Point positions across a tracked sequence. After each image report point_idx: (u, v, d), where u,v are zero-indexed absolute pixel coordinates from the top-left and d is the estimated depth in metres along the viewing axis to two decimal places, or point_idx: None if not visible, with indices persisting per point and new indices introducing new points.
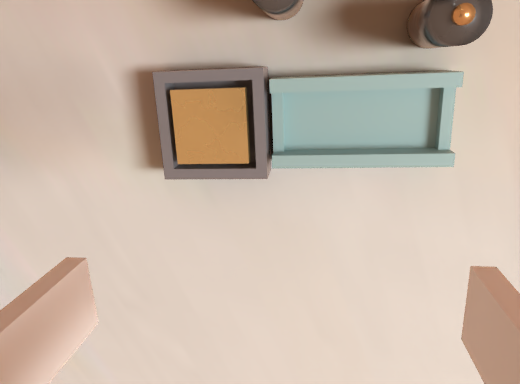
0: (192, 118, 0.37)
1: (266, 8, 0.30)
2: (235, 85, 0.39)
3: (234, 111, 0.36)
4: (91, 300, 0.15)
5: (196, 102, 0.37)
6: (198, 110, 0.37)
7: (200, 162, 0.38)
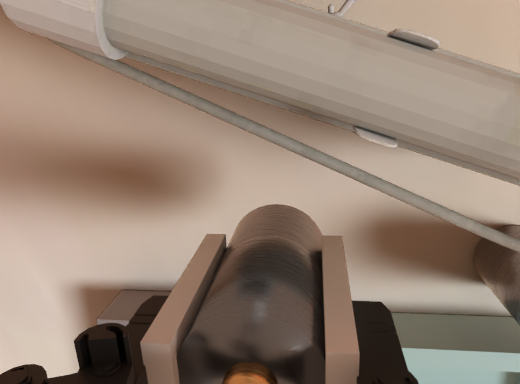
0: None
1: None
2: None
3: None
4: None
5: None
6: None
7: None
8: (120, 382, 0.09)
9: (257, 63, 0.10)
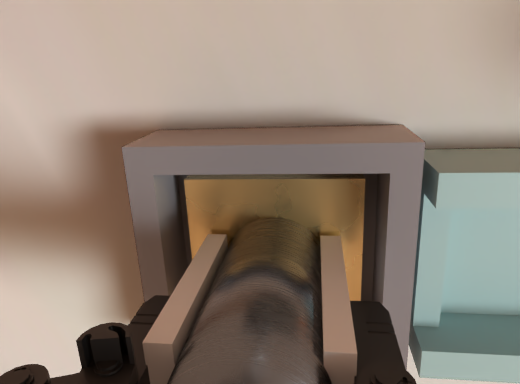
0: None
1: None
2: None
3: (335, 230, 0.16)
4: None
5: (245, 207, 0.16)
6: None
7: None
8: (122, 382, 0.09)
9: None
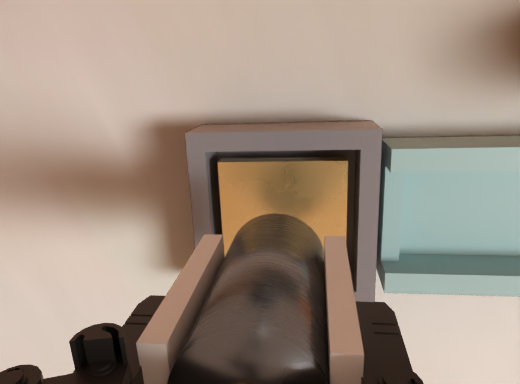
0: (253, 208, 0.22)
1: None
2: (319, 151, 0.23)
3: (327, 199, 0.22)
4: None
5: (261, 182, 0.22)
6: (265, 196, 0.22)
7: None
8: (116, 382, 0.09)
9: None
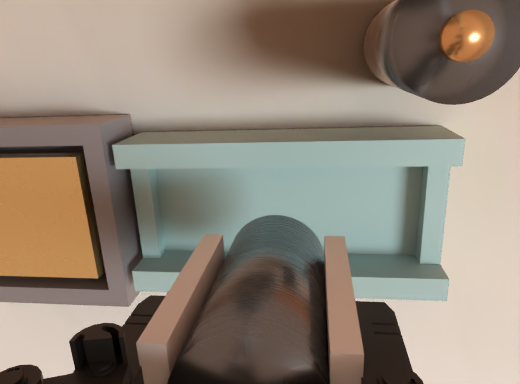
0: None
1: None
2: (75, 146, 0.23)
3: (64, 196, 0.21)
4: None
5: None
6: (5, 193, 0.21)
7: (21, 274, 0.23)
8: (116, 382, 0.09)
9: None
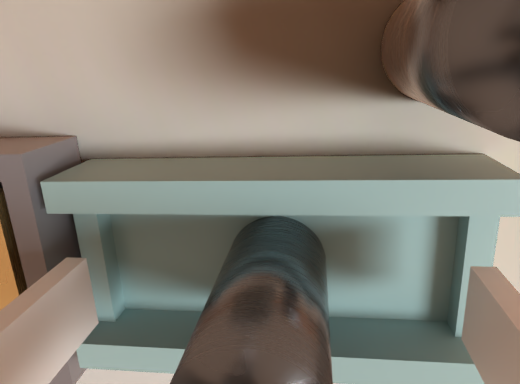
0: None
1: None
2: None
3: None
4: (91, 300, 0.15)
5: None
6: None
7: None
8: None
9: None
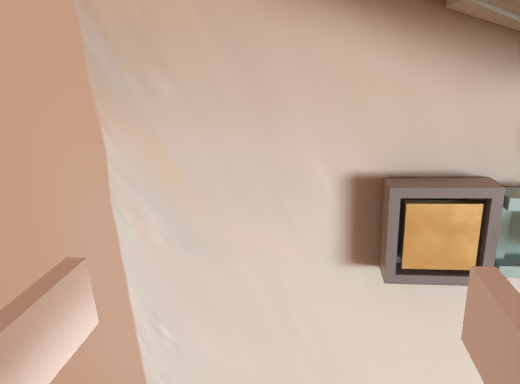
0: (424, 229, 0.39)
1: None
2: None
3: (469, 224, 0.38)
4: (91, 300, 0.15)
5: (431, 215, 0.38)
6: (432, 222, 0.39)
7: (425, 267, 0.40)
8: None
9: None
